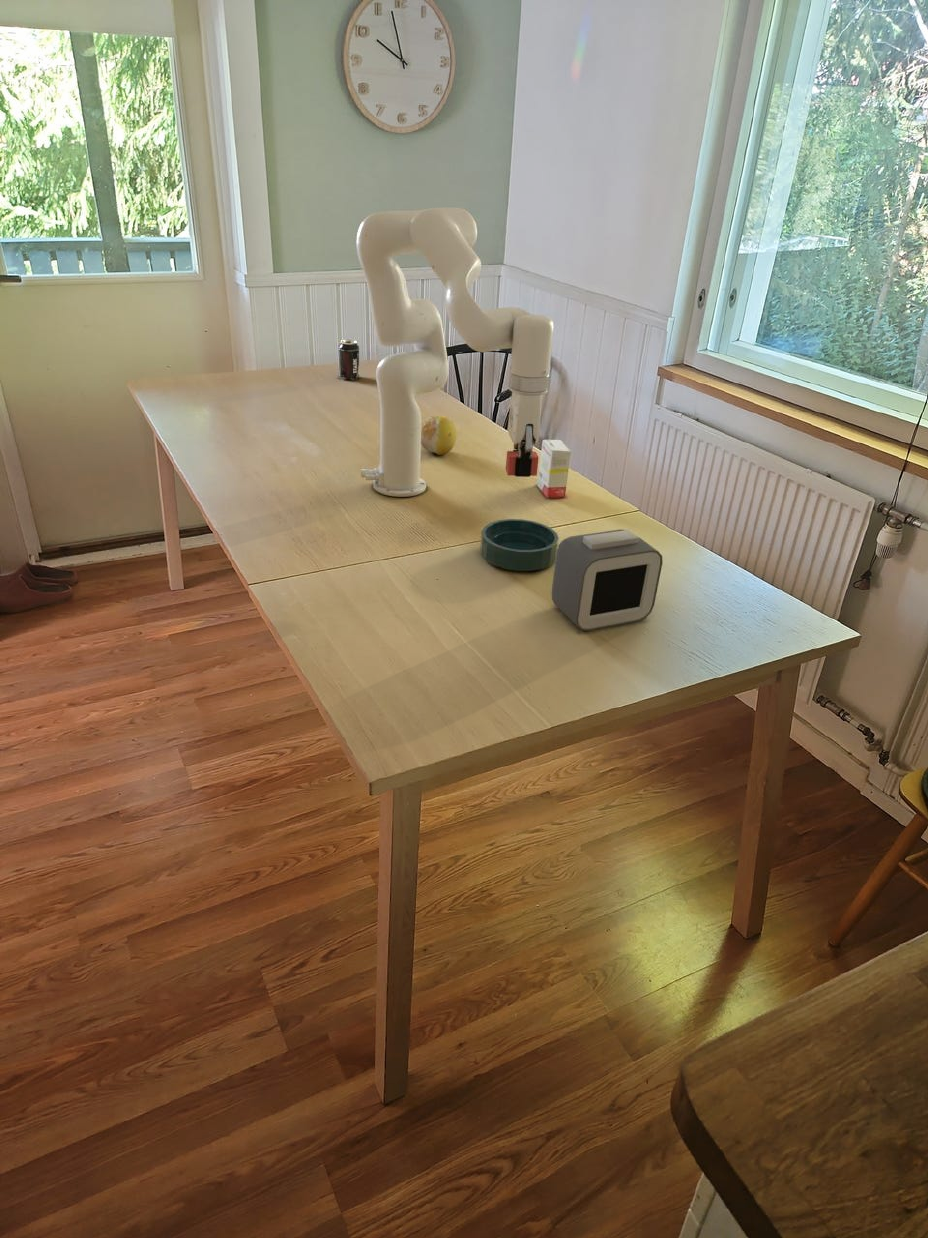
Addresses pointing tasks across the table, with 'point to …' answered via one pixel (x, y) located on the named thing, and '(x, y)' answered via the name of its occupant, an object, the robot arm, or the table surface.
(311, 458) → the table surface
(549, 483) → the ink box
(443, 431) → the fruit
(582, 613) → the alarm clock
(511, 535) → the bowl
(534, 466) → the eraser
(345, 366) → the beverage can
